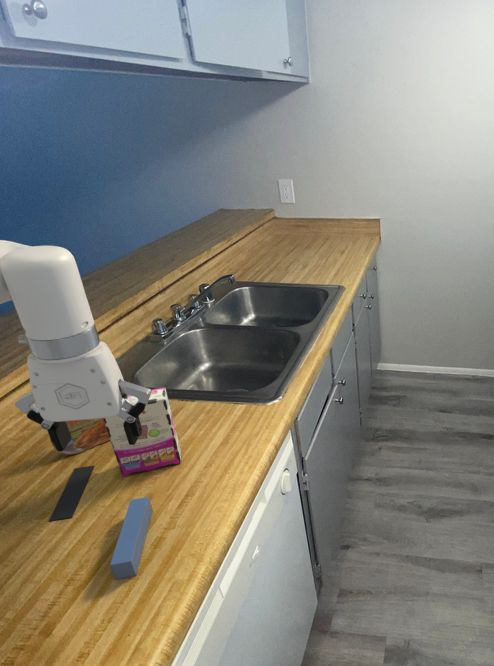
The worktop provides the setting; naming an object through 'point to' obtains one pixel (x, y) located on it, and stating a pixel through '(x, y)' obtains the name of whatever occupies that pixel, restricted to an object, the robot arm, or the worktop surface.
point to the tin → (85, 435)
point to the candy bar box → (146, 437)
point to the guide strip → (72, 493)
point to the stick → (131, 539)
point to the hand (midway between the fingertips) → (100, 442)
